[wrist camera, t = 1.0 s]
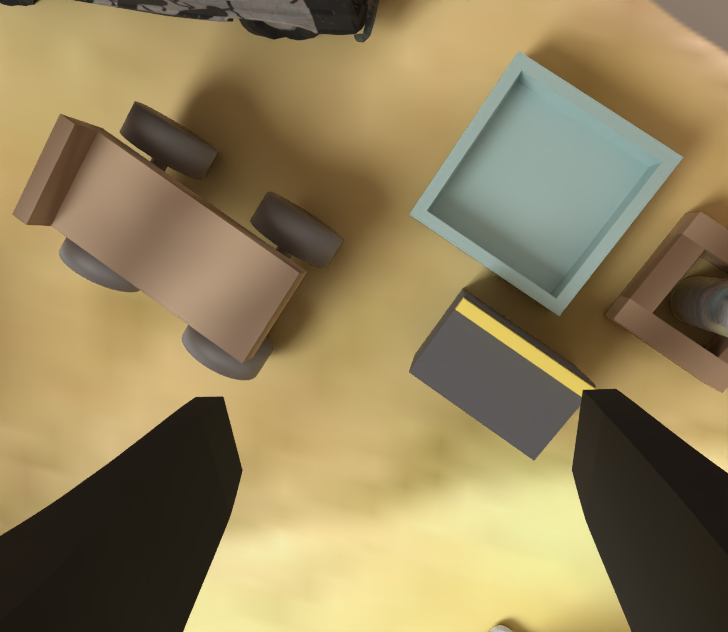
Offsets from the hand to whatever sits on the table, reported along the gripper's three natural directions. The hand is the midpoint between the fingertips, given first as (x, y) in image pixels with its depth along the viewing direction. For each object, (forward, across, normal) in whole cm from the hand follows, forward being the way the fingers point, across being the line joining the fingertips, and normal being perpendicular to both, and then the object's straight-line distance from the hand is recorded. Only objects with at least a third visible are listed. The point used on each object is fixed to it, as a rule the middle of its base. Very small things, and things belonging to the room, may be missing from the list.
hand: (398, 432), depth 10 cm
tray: (+18, -6, 0) cm, 19 cm away
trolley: (+18, +11, +2) cm, 21 cm away
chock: (+15, -4, +8) cm, 18 cm away
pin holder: (+15, -14, +5) cm, 21 cm away
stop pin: (+15, -14, +5) cm, 21 cm away
